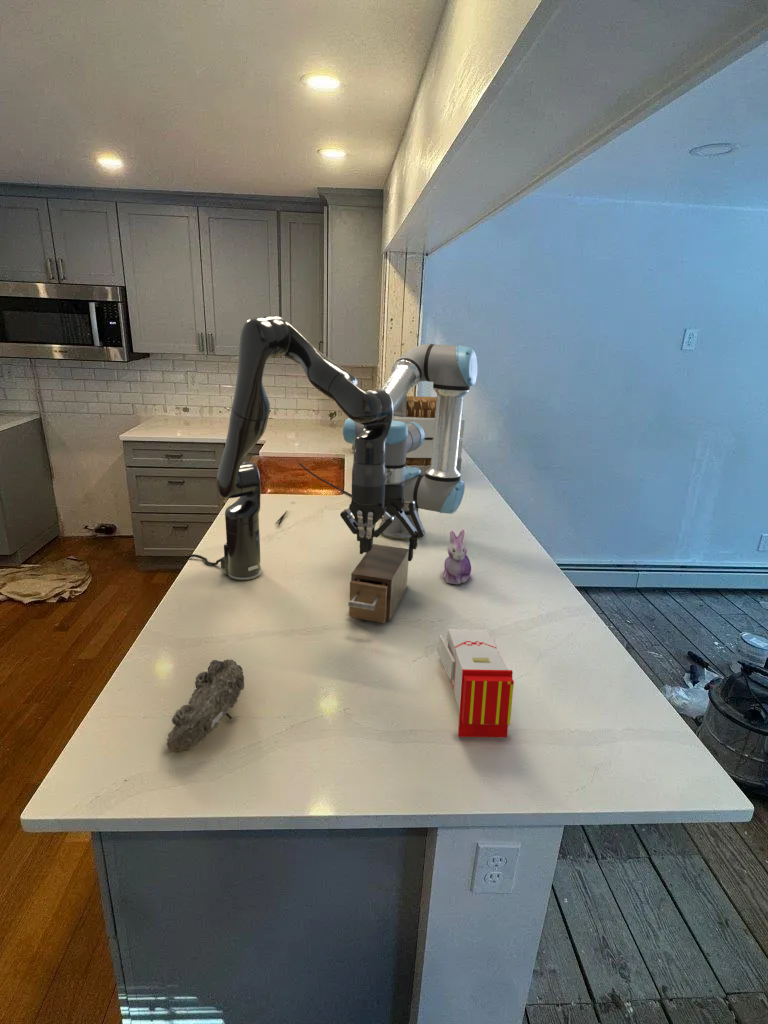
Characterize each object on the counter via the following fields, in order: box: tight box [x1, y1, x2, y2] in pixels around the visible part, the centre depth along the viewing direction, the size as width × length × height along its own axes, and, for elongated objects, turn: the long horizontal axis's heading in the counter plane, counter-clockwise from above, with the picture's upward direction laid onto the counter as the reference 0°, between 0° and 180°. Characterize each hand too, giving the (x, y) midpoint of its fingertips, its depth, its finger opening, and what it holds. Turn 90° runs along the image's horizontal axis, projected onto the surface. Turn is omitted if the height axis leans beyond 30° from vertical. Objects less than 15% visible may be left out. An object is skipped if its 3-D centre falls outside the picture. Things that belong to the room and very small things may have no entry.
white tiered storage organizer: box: [392, 393, 465, 475], centre depth 268 cm, size 34×33×41 cm
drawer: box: [347, 579, 387, 624], centre depth 146 cm, size 24×9×10 cm, turn 165°
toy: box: [437, 628, 515, 738], centre depth 117 cm, size 12×13×30 cm
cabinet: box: [350, 543, 409, 622], centre depth 152 cm, size 20×10×12 cm, turn 165°
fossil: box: [166, 658, 245, 754], centre depth 106 cm, size 22×10×15 cm
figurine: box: [442, 529, 472, 585], centre depth 166 cm, size 9×10×15 cm
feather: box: [274, 510, 288, 528], centre depth 213 cm, size 2×28×2 cm
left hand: (366, 551), depth 133 cm, fingers closed
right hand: (386, 555), depth 155 cm, fingers open, 13 cm apart
